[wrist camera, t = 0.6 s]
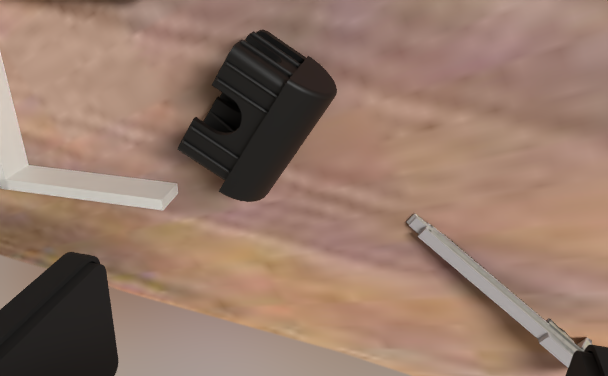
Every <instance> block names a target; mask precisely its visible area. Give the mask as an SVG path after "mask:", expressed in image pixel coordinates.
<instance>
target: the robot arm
mask: <svg viewBox="0 0 608 376" xmlns="http://www.w3.org/2000/svg"><path fill="white" fill-rule="evenodd" d="M117 367H118V355H117V347H116V340H115V332H114V325H113V319H112V311H111V303H110V297H109V289H108V281H107V274H106V269H105V267H104V265H102V264H100V262H99V260H98V258H97V257H95V256H91V255H85V254H80V253H74V252H68V253H66V254H65V255H63V256H62V257H61V258H60V259H59V260H57V261H56V262H55V263H54V264H53V265H52V266H50V267H49V268H48V269H47V270H46V271H45V272H44V273H42V274H41V275H40V276H39V277H38V278H37V279H35V280H34V281H33V282H32V283H31V284H30V285H28V286H27V287H26V288H25V289H24V290H23V291H21V292H20V293H19V294H18V295H17V296H16V297H14V298H13V299H12V300H11V301H10V302H9V303H8V304H7V305H5V306H4V307H3V308H2V309H1V310H0V376H114V375H115V373H116V371H117ZM566 376H608V347H602V346H596V345H588V346H587V347H586V348H585V350H584V351H575V352H574V354H573V356H572V359H571V362H570V365H569V368H568V371H567V373H566Z"/></svg>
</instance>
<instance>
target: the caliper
mask: <svg viewBox="0 0 608 376" xmlns="http://www.w3.org/2000/svg"><path fill="white" fill-rule="evenodd" d="M406 222H407V223H408V225H409V226H410V227H411V228H412V229H413V230H415V231H416V232H417V233H418V237H419V238H420V239H421V240H422V241H423V242H425V243H426V244H427V245H428V246H429V247H430V248H432V249H433V250H434V251H435V252H436V253H437V254H439V255H440V256H441V257H442V258H443V259H444V260H446V261H447V262H448V263H449V264H450V265H452V266H453V267H454V268H455V269H456V270H457V271H459V272H460V273H461V274H462V275H463V276H464V277H466V278H467V279H468V280H469V281H470V282H471V283H473V284H474V285H475V286H476V287H477V288H479V289H480V290H481V291H482V292H483V293H484V294H486V295H487V296H488V297H489V298H490V299H492V300H493V301H494V302H495V303H496V304H497V305H499V306H500V307H501V308H502V309H503V310H504V311H506V312H507V313H508V314H509V315H510V316H512V317H513V318H514V319H515V320H516V321H517V322H519V323H520V324H521V325H522V326H523V327H524V328H526V329H527V330H528V331H529V332H530V333H532V334H533V335H534V336H535V337H536V338H537V339H538V341H539V343H540V344H541V345H542V346H543V347H544V348H545V349H547V350H548V351H549V352H550V353H551V354H552V355H554V356H555V357H556V358H557V359H558V360H559V361H560V362H562V363H563V364H564V365H565V366H566V367H567V368H569V365H570V362H571V359H572V356H573V354H574V352H575V351H584V350H585V348H586V347H587V346H588V345H592V340H590V339H589V338H585V339H584V340H582V341H581V342H579V343H578V344H575V343H574V341H573V340H572V339H571V338H570V337H569V336H568V335H567V333H566V332H565V331H564V330H562V329H561V328H559V327H558V326H557V325H556V324H555V323H554V322H553V321H552V320H551V319H549V318H548V319H547V320H544V319H543V318H542V317H541V316H540V315H538V314H537V313H536V312H535V311H534V310H533V309H531V308H530V307H529V306H528V305H527V304H525V303H524V302H523V301H522V300H521V299H520V298H518V297H517V296H516V295H515V294H514V293H512V292H511V291H510V290H509V289H508V288H507V287H505V286H504V285H503V284H502V283H501V282H499V281H498V280H497V279H496V278H495V277H493V276H492V275H491V274H490V273H489V272H488V271H486V270H485V269H484V268H483V267H482V266H481V265H479V264H478V263H477V262H476V261H475V260H474V259H472V258H471V257H470V256H469V255H468V254H466V253H465V252H464V251H463V250H462V249H461V248H459V247H458V246H457V245H456V244H455V243H454V242H452V241H451V240H450V239H449V238H448V237H446V236H445V235H444V234H443V233H441V232H440V231H439V230H437V229H436V228H434V227H433V226H432V225H430V224H429V223H426V222H425V221H424V220H422V219H421V218H420V217H419V216H418V215H416V214H415V213H414V214H413V215H412V216H411V217H410V218H409V219H408V220H407V221H406Z"/></svg>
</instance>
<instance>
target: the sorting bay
mask: <svg viewBox="0 0 608 376" xmlns="http://www.w3.org/2000/svg"><path fill="white" fill-rule="evenodd" d="M0 189H7V190H15V191H22V192H29V193H37V194H44V195H52V196H59V197H67V198H74V199H82V200H89V201H96V202H104V203H111V204H119V205H126V206H134V207H141V208H149V209H156V210H164V209H165V208H166V207H167V206H168V204H169V203H170V202H171V201H172V200H173V199H174V198H175V197H176V195H177V194H178V186H177V183H171V182H163V181H155V180H147V179H139V178H131V177H123V176H115V175H107V174H99V173H91V172H82V171H74V170H66V169H58V168H50V167H42V166H34V165H29V164H28V160H27V156H26V152H25V148H24V144H23V140H22V136H21V132H20V128H19V124H18V120H17V116H16V112H15V108H14V104H13V100H12V96H11V92H10V88H9V84H8V80H7V76H6V72H5V68H4V64H3V60H2V56H1V52H0Z"/></svg>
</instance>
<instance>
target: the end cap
mask: <svg viewBox="0 0 608 376" xmlns="http://www.w3.org/2000/svg"><path fill="white" fill-rule="evenodd" d="M246 41H247V42H248V43H247V42H246ZM246 41H245V40H241V41H239V42H238V43H236V44H235V45H234V46H233V48H232V49H231V51H230V52H229V54H228V56H227V58H226V60H225V62H224V63H223V65H222V67H221V69H220V71H219V73H218V74H217V76H216V78H215V80H214V82H213V84H212V86H214V87H215V88H217V89H218V90H220V91H221V92H222V94H221V96H220V97H218V98H217V99H216V100H215V102H214V104H213V106H212V107H211V109H210V111H209V113H208V115H207V116H206V118H205V120H204V122H203V121H201V120H200V119H198V118H197V117H195V118H194V119H193V121H192V123H191V124H190V126H189V128H188V130H187V132H186V134H185V136H184V137H183V139H182V141H181V143H180V145H179V147H178V150H179V151H181V152H182V153H184V154H185V155H187V156H188V157H190V158H191V159H193V160H194V161H196V162H198V163H199V164H201V165H202V166H204V167H205V168H207V169H208V170H210V171H211V172H213V173H214V174H216V175H217V176H219V177H220V178H222V179H224V180H225V182H224V183H223V185H222V187H221V188H220V190H219V192H221V193H222V194H224V195H226V196H228V197H231V198H233V199H236V200H240V201H246V202H253V201H258V200H261V199H262V198H264V197H265V196H266V195H267V194H268V193H269V191H270V190H271V188H272V187H273V185H274V184H275V182H276V181H277V180H278V178H279V177H280V175H281V174H282V172H283V171H284V170H285V168H286V167H287V165H288V164H289V162H290V161H291V159H292V158H293V157H294V155H295V154H296V152H297V151H298V149H299V148H300V146H301V145H302V144H303V142H304V141H305V139H306V138H307V136H308V135H309V133H310V132H311V131H312V129H313V128H314V126H315V125H316V123H317V122H318V120H319V119H320V118H321V116H322V115H323V113H324V112H325V110H326V109H327V108H328V106H329V105H330V103H331V102H332V100H333V99H334V97H335V96H336V92H337V89H336V85H335V82H334V80H333V79H332V78H331V76H330V75H329V74H328V72H327V71H326V70H325V69H324V68H323V67H322V66H321V65H320V64H318V63H317V62H316V61H315V60H313V59H312V58H311V57H309V56H308V57H307V58H306V57H304V56H303V55H301V54H300V53H298V52H297V51H296V50H294V49H293V48H291V47H290V46H288V45H287V44H285V43H284V42H282V41H281V40H280V39H278V38H277V37H275V36H274V35H272V34H271V33H269V32H268V31H266V30H259V31H258V32H257V33H255V32H252V33H250V34H249V35H248V36H247V38H246Z"/></svg>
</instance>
